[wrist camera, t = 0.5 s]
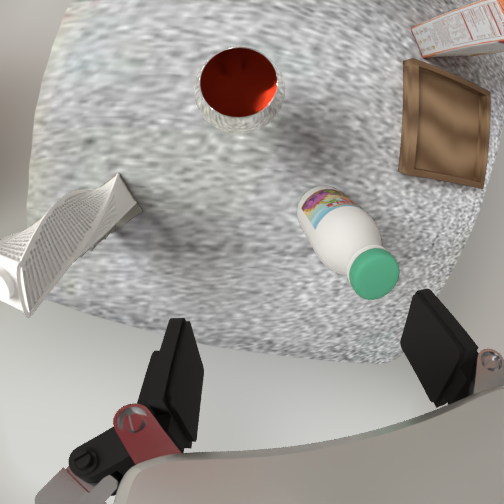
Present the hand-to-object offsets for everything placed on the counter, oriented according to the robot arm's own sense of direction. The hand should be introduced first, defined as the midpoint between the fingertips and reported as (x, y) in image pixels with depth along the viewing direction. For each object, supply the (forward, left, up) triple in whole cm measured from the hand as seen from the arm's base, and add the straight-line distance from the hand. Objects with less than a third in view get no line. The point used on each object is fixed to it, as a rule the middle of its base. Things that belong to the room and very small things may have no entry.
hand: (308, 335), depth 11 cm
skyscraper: (+2, -22, -31) cm, 38 cm away
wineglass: (-11, -3, -31) cm, 33 cm away
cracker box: (-28, +30, -31) cm, 51 cm away
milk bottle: (+4, +9, -31) cm, 33 cm away
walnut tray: (-12, +30, -31) cm, 45 cm away
